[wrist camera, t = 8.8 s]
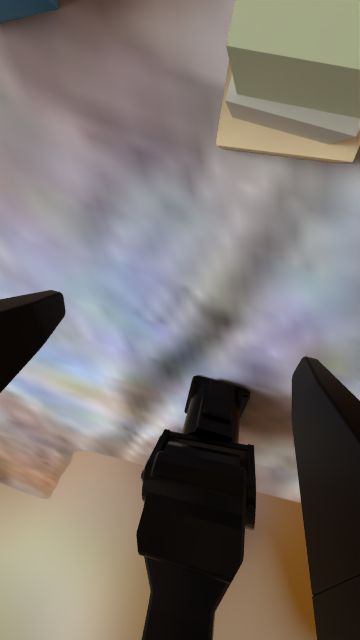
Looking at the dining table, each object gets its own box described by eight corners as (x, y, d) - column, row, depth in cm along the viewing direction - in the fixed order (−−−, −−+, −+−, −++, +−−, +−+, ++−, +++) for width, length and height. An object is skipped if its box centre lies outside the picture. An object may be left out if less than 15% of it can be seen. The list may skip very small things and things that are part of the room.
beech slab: (331, 162, 16) (352, 162, 12) (223, 149, 17) (215, 145, 13) (396, -9, 12) (453, -77, 9) (250, -14, 13) (250, -75, 10)
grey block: (328, 144, 12) (355, 136, 9) (232, 117, 13) (225, 100, 9) (402, -12, 9) (483, -106, 6) (276, -40, 10) (288, -144, 7)
